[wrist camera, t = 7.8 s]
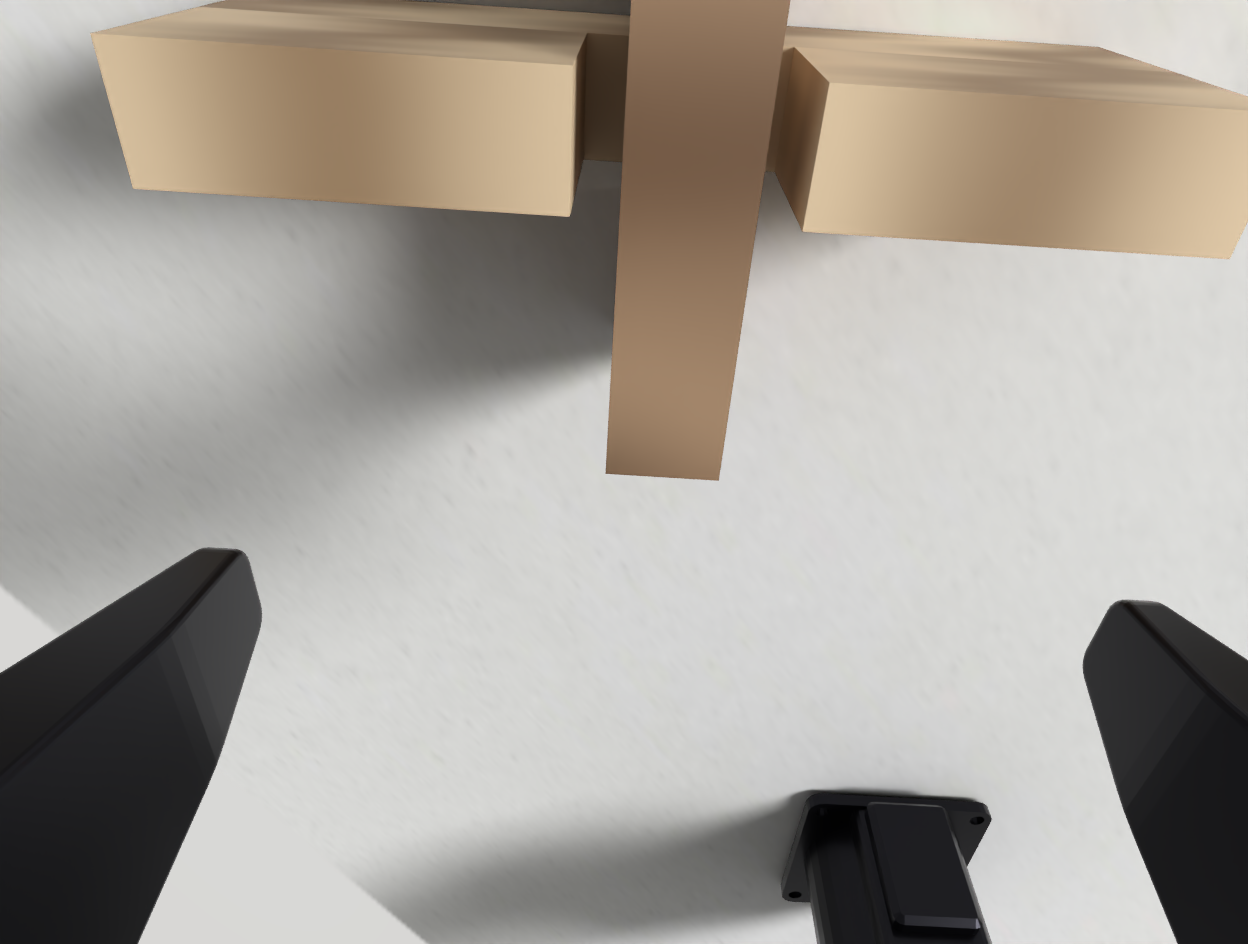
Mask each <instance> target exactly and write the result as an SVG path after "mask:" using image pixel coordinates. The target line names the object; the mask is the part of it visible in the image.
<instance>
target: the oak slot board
mask: <svg viewBox="0 0 1248 944" xmlns="http://www.w3.org/2000/svg"><path fill="white" fill-rule="evenodd" d="M629 31H630V15H615V14H600V13H586V12H571V11H556V10H541V9H526V8H512V7H497V6H482V5H467V4H452V3H438V2H423V1H408V0H225V1H221V2H217V3H213V4H208V5H204V6H200V7H196V8H192V9H188V10H184V11H180V12H176V13H172V14H167V15H163V16H159V17H155V18H151V19H147V20H143V21H139V22H135V23H131V24H127V25H122V26H118V27H114V28H110V29H106V30H102V31H98V32H94V33H90V34H91V38H92V41H93V45H94V49H95V52H96V56H97V59H98V63H99V67H100V70H101V74H102V78H103V81H104V85H105V88H106V92H107V96H108V99H109V103H110V107H111V110H112V114H113V118H114V121H115V125H116V128H117V132H118V136H119V139H120V143H121V147H122V150H123V154H124V157H125V161H126V165H127V168H128V172H129V176H130V179H131V183H132V186H133V189H144V190H159V191H175V192H191V193H206V194H222V195H237V196H253V197H269V198H284V199H300V200H315V201H331V202H346V203H362V204H378V205H393V206H409V207H424V208H440V209H456V210H471V211H487V212H502V213H518V214H533V215H549V216H565V217H570V213H571V209H572V205H573V201H574V197H575V192H576V188H577V184H578V180H579V176H580V172H581V168H582V164H583V160H597V161H613V162H622V161H623V142H624V124H625V105H626V87H627V68H628V49H629ZM765 171H766V172H775V174H776V176H777V178H778V180H779V182H780V184H781V187H782V189H783V191H784V193H785V195H786V197H787V199H788V202H789V204H790V206H791V208H792V210H793V212H794V215H795V217H796V219H797V221H798V223H799V225H800V227H801V230H802V232H814V233H830V234H845V235H861V236H876V237H892V238H907V239H923V240H939V241H954V242H970V243H985V244H1001V245H1017V246H1032V247H1048V248H1063V249H1079V250H1094V251H1110V252H1126V253H1141V254H1157V255H1172V256H1188V257H1204V258H1219V259H1230V257H1231V255H1232V253H1233V251H1234V249H1235V247H1236V245H1237V243H1238V241H1239V239H1240V236H1241V234H1242V232H1243V230H1244V228H1245V226H1246V224H1247V222H1248V97H1247V96H1244V95H1241V94H1238V93H1235V92H1232V91H1229V90H1226V89H1223V88H1220V87H1217V86H1214V85H1211V84H1208V83H1205V82H1202V81H1199V80H1196V79H1193V78H1190V77H1187V76H1184V75H1181V74H1178V73H1175V72H1172V71H1169V70H1166V69H1163V68H1160V67H1157V66H1154V65H1151V64H1148V63H1145V62H1142V61H1139V60H1136V59H1133V58H1130V57H1127V56H1124V55H1121V54H1118V53H1115V52H1112V51H1109V50H1106V49H1103V48H1100V47H1089V46H1074V45H1059V44H1044V43H1030V42H1015V41H1000V40H985V39H970V38H956V37H941V36H926V35H911V34H896V33H882V32H867V31H852V30H837V29H822V28H808V27H793V26H786V33H785V39H784V46H783V53H782V59H781V66H780V73H779V79H778V86H777V93H776V99H775V106H774V113H773V120H772V126H771V133H770V140H769V146H768V153H767V160H766V166H765Z"/></svg>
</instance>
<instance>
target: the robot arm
mask: <svg viewBox="0 0 1248 944" xmlns="http://www.w3.org/2000/svg"><path fill="white" fill-rule="evenodd" d="M261 622H262V608H261V603H260V600H259V596H258V592H257V588H256V585H255V581H254V577H253V573H252V570H251V566H250V562H249V560H248V557H247V556H246V554H245V553H244V552H243V551H241V550H238V549H227V548H209V547H208V548H202V549H199V550H197V551H195V552H193V553H191V554H190V555H188V556H187V557H185V558H183V559H182V560H180V561H179V562H177V563H175V564H174V565H172V566H171V567H169V568H167V569H166V570H164V571H163V572H161V573H159V574H158V575H156V576H155V577H153V578H151V579H150V580H148V581H147V582H145V583H143V584H142V585H140V586H139V587H137V588H136V589H134V590H132V591H131V592H129V593H128V594H126V595H124V596H123V597H121V598H120V599H118V600H116V601H115V602H113V603H112V604H110V605H108V606H107V607H105V608H104V609H102V610H100V611H99V612H97V613H96V614H94V615H92V616H91V617H89V618H88V619H86V620H84V621H83V622H81V623H80V624H78V625H76V626H75V627H73V628H72V629H70V630H68V631H67V632H65V633H64V634H62V635H60V636H59V637H57V638H56V639H54V640H52V641H51V642H49V643H48V644H46V645H44V646H43V647H41V648H40V649H38V650H36V651H35V652H33V653H32V654H30V655H28V656H27V657H25V658H24V659H22V660H20V661H19V662H17V663H16V664H14V665H12V666H11V667H9V668H8V669H6V670H5V671H3V672H1V673H0V944H138V942H139V940H140V938H141V935H142V933H143V931H144V929H145V926H146V924H147V922H148V920H149V917H150V915H151V913H152V911H153V908H154V906H155V904H156V902H157V899H158V897H159V895H160V893H161V890H162V888H163V886H164V884H165V881H166V879H167V877H168V875H169V872H170V870H171V868H172V865H173V863H174V861H175V859H176V857H177V854H178V852H179V850H180V848H181V845H182V843H183V841H184V839H185V836H186V834H187V832H188V830H189V827H190V825H191V823H192V821H193V818H194V816H195V814H196V812H197V809H198V807H199V805H200V803H201V800H202V798H203V796H204V794H205V791H206V789H207V787H208V785H209V782H210V780H211V777H212V775H213V773H214V770H215V768H216V765H217V763H218V760H219V757H220V754H221V751H222V748H223V745H224V743H225V740H226V736H227V733H228V730H229V727H230V724H231V720H232V717H233V714H234V711H235V708H236V705H237V701H238V698H239V695H240V692H241V689H242V686H243V682H244V679H245V676H246V673H247V670H248V667H249V663H250V660H251V657H252V654H253V651H254V647H255V644H256V641H257V638H258V635H259V631H260V628H261ZM1083 674H1084V679H1085V682H1086V686H1087V689H1088V693H1089V696H1090V699H1091V703H1092V706H1093V710H1094V713H1095V716H1096V720H1097V723H1098V727H1099V730H1100V734H1101V737H1102V740H1103V744H1104V747H1105V751H1106V754H1107V758H1108V761H1109V764H1110V768H1111V771H1112V775H1113V778H1114V782H1115V785H1116V788H1117V791H1118V794H1119V797H1120V801H1121V804H1122V807H1123V810H1124V813H1125V815H1126V818H1127V820H1128V823H1129V826H1130V828H1131V831H1132V834H1133V836H1134V839H1135V841H1136V843H1137V846H1138V848H1139V851H1140V853H1141V856H1142V858H1143V860H1144V863H1145V865H1146V868H1147V870H1148V873H1149V875H1150V878H1151V880H1152V882H1153V885H1154V887H1155V890H1156V892H1157V895H1158V897H1159V899H1160V902H1161V904H1162V907H1163V909H1164V912H1165V914H1166V917H1167V919H1168V921H1169V924H1170V926H1171V929H1172V931H1173V934H1174V936H1175V938H1176V941H1177V943H1178V944H1248V660H1247V659H1245V658H1244V657H1242V656H1241V655H1239V654H1238V653H1236V652H1235V651H1233V650H1232V649H1230V648H1229V647H1227V646H1226V645H1224V644H1223V643H1221V642H1220V641H1218V640H1217V639H1215V638H1214V637H1212V636H1211V635H1209V634H1208V633H1206V632H1205V631H1203V630H1201V629H1200V628H1198V627H1197V626H1195V625H1194V624H1192V623H1191V622H1189V621H1188V620H1186V619H1185V618H1183V617H1182V616H1180V615H1179V614H1177V613H1176V612H1174V611H1173V610H1171V609H1170V608H1168V607H1167V606H1165V605H1163V604H1161V603H1158V602H1154V601H1139V600H1120V601H1117V602H1115V603H1114V604H1113V605H1111V606H1110V608H1109V609H1108V611H1107V613H1106V614H1105V616H1104V618H1103V620H1102V622H1101V624H1100V626H1099V627H1098V629H1097V631H1096V633H1095V635H1094V637H1093V638H1092V640H1091V642H1090V644H1089V646H1088V648H1087V650H1086V652H1085V655H1084V659H1083ZM991 819H992V818H991V815H990V813H989V810H988V807H987V806H986V805H985V804H983V803H980V802H966V801H948V800H930V799H911V798H893V797H875V796H857V795H838V794H816V795H813V796H811V797H809V798H808V800H807V801H806V804H805V808H804V811H803V814H802V817H801V821H800V824H799V827H798V830H797V834H796V837H795V840H794V843H793V847H792V850H791V853H790V856H789V860H788V863H787V866H786V870H785V873H784V876H783V879H782V883H781V889H782V897H783V898H784V899H785V900H788V901H792V902H810V903H811V909H812V915H813V921H814V927H815V933H816V939H817V944H992V942H991V939H990V936H989V933H988V930H987V927H986V924H985V921H984V918H983V915H982V912H981V909H980V906H979V903H978V900H977V897H976V894H975V891H974V888H973V885H972V882H971V878H970V875H969V872H968V869H967V866H968V864H969V862H970V860H971V858H972V856H973V854H974V852H975V851H976V849H977V847H978V845H979V843H980V841H981V839H982V837H983V836H984V834H985V832H986V830H987V828H988V826H989V824H990V822H991Z"/></svg>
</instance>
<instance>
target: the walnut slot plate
mask: <svg viewBox="0 0 1248 944" xmlns="http://www.w3.org/2000/svg"><path fill="white" fill-rule="evenodd" d="M789 6H790V0H631V12H630V31H629V49H628V68H627V87H626V105H625V124H624V142H623V161H622V179H621V198H620V216H619V235H618V254H617V272H616V291H615V309H614V328H613V346H612V365H611V383H610V402H609V421H608V439H607V458H606V474H619V475H636V476H652V477H669V478H685V479H702V480H718V481H719V474H720V468H721V461H722V454H723V448H724V441H725V434H726V428H727V421H728V414H729V407H730V401H731V394H732V387H733V381H734V374H735V367H736V361H737V354H738V347H739V341H740V334H741V327H742V320H743V314H744V307H745V300H746V294H747V287H748V280H749V274H750V267H751V260H752V253H753V247H754V240H755V233H756V227H757V220H758V213H759V207H760V200H761V193H762V187H763V180H764V173H765V166H766V160H767V153H768V146H769V140H770V133H771V126H772V120H773V113H774V106H775V99H776V93H777V86H778V79H779V73H780V66H781V59H782V53H783V46H784V39H785V33H786V26H787V19H788V12H789Z"/></svg>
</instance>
